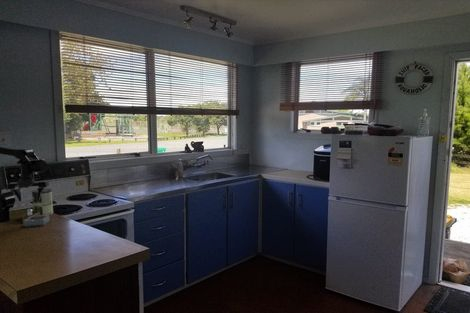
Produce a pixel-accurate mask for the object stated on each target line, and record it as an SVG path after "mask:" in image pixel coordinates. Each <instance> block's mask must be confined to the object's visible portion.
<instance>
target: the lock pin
mask: <svg viewBox="0 0 470 313" xmlns="http://www.w3.org/2000/svg"><path fill="white" fill-rule="evenodd" d="M32 211H33V209H31V208H28V209H27V210H26V214H27V216H32V215H33V214H32Z"/></svg>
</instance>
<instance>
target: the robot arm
mask: <svg viewBox="0 0 470 313" xmlns="http://www.w3.org/2000/svg"><path fill="white" fill-rule="evenodd" d="M0 155H5V156H6V155H7V156H13V157H14V158H16V159H18V161H17V162H16V165H19V164H20V178H19V179H18V181H17V182H9V183H7V185H6V186H5V184H4V181H3V180H2V177H0V221H1V222H10V220H12V219H14V217H13V216H11V209H12V208H14V206H15V202H16V197H17V200H18V202H21V201H22V195H21V189H23V188H24V189H25V188H26V189H28V188H30V187H37V188H36V190H38V200H40V197H41V194H42V192H43V190H44V189H47V187H49V185H50V182H49V181H48V180H40V181H38V182H36V180H35V173H45V172H47V170H48V168H49V166H48V163H47V161H45V159H43V158H42V159H39V157H38V156H37V155H36V153H35V151H34V149H33V148H30V147H29V148H15V147H9V146H3V145H0ZM9 190H10V191H9ZM14 194H15V195H14Z"/></svg>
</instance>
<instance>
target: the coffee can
mask: <svg viewBox="0 0 470 313" xmlns="http://www.w3.org/2000/svg"><path fill="white" fill-rule="evenodd" d="M52 191H53V189H51V188H44V190H43V192H42V194H41V197H40V200H38V189H34V190H31V194H32V195H31V196H32V197H31V198H32V199H31V200H32V208H33V209H32V211H36V212H40V216H43V215H49V216H50V215H52V214H54V205H53V192H52Z"/></svg>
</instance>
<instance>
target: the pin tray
mask: <svg viewBox="0 0 470 313" xmlns="http://www.w3.org/2000/svg"><path fill="white" fill-rule="evenodd" d="M50 218H51V216H50V215H43V216H30V217H29V218H27V219H26V220H24V221H23V222H22V223H23V228H25V227H26V228H27V227H40V226H42V227H43V226H45V225H46V224H48V223H49V222H50V221H51V220H50Z"/></svg>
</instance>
